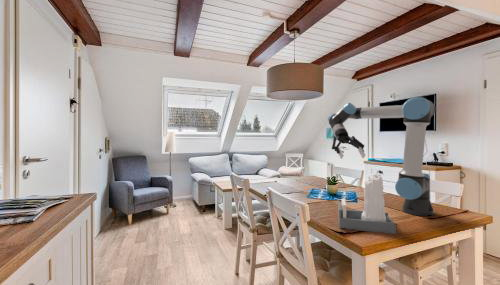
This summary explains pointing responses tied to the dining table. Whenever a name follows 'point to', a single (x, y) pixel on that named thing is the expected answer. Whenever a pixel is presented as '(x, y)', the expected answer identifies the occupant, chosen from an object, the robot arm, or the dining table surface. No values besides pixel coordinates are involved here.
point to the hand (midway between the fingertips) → (353, 156)
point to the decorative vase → (374, 199)
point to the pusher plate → (343, 208)
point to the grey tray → (364, 222)
